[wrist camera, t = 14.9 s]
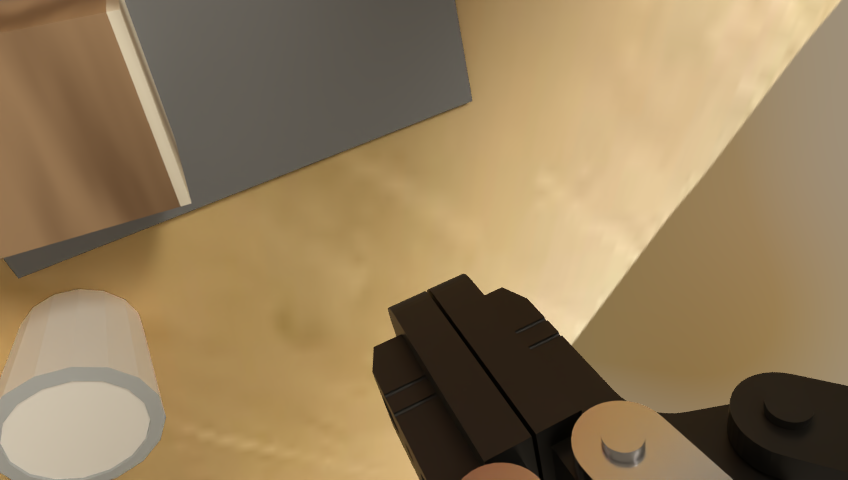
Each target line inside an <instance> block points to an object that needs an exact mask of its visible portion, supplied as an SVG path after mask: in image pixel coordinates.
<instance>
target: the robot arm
mask: <svg viewBox="0 0 848 480" xmlns="http://www.w3.org/2000/svg"><path fill="white" fill-rule="evenodd" d="M388 312H389V315H390V318H391V321H392V324H393V327H394V330H395V333H396V336H397V337H395V338H392V339H390V340H388V341H386V342H384V343H382V344H380V345H377V346H375V347H374V353H373V375H374V377H375V380H376V382H377V385H378V388H379V390H380V393H381V395H382V398H383V400H384V403H385V406H386V408H387V411H388V413H389V416H390V419H391V421H392V424H393V426H394V428H395V430H396V433H397V435H398V437H399V439H400V441H401V443H402V445H403V447H404V449H405V451H406V453H407V455H408V457H409V459H410V461H411V463H412V465H413V467H414V469H415V471H416V473H417V475H418V477H419V480H848V386H845V385H841V384H836V383H831V382H826V381H821V380H817V379H812V378H807V377H802V376H798V375H793V374H787V373H777V372H776V373H775V372H774V373H773V372H771V373H762V374H757V375H754V376H751V377H749V378H747V379H745V380H744V381H742V382H741V383H740V384H739V385H738V386H737V387H736V388H735V389H734V391H733V393H732V396H731V398H730V404H728V405H723V406H717V407H712V408H707V409H701V410H695V411H690V412H684V413H675V414H674V413H658V412H655V411H654V410H652V409H650V408H648V407H646V406H644V405H641V404H638V403H634V402H630V401H626V400H624V399H623V398H621V397H620V396H619V395H618V394H617V393H616V392H615V391H614V390H613V389H612V388H611V387H610V386H609V385H608V384H607V383H606V382H605V381H604V380H603V379H602V378H601V377H600V376H599V374H598V373H597V372H596V371H595V370H594V369H593V368H592V367H591V366H590V365H589V364H588V363H587V362H586V361H585V360H584V359H583V358H582V356H581V355H580V354H579V353H578V352H577V351H576V350H575V349H574V348H573V347H572V346H571V345H570V344H569V343H568V341H567V340H566V339H565V338H564V337H563V336H560V335H559V332H558V331H557V330H556V329H555V328H554V327H553V326H552V325H551V323H550V322H549V321H546V320H545V318H544V316H543V315H542V314H541V313H540V312H539V311H538V310H537V309H536V308H535V306H534V305H533V304H532V303H531V302H530V301H529V300H528V299H527V298H525V297H522V296H520V295H518V294H516V293H514V292H511V291H509V290H507V289H505V288H500V289H497V290H495V291H493V292H491V293H489V294H487V295H484V294H483V293H482V292H481V291H480V290H479V288H478V287H477V286H476V285H475V284H474V283H473V281H472V280H471V279H470V278H469V277H468V276H467V275H466V274H462V275H459V276H457V277H455V278H453V279H450V280H448V281H446V282H444V283H442V284H439V285H437V286H435V287H433V288H431V289H428V290H427V292H426V291H424V292H422V293H420V294H418V295H416V296H413V297H411V298H409V299H407V300H405V301H402V302H400V303H398V304H396V305H394V306H391V307H389V308H388Z"/></svg>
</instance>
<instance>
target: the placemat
mask: <svg viewBox="0 0 848 480" xmlns="http://www.w3.org/2000/svg"><path fill="white" fill-rule="evenodd" d="M125 3H126V6H127V9H128V11H129V14H130V17H131V20H132V22H133V25H134V28H135V31H136V33H137V36H138V39H139V42H140V44H141V47H142V50H143V53H144V55H145V58H146V61H147V64H148V66H149V69H150V72H151V75H152V77H153V80H154V83H155V86H156V88H157V91H158V94H159V97H160V99H161V102H162V105H163V108H164V110H165V113H166V116H167V119H168V121H169V124H170V127H171V130H172V132H173V135H174V138H175V141H176V145H177V149H178V153H179V156H180V160H181V164H182V168H183V172H184V176H185V180H186V183H187V187H188V191H189V195H190V199H191V204H188V205H184V206H181V207H177V208H174V209H171V210H167V211H164V212H160V213H157V214H153V215H150V216H146V217H143V218H140V219H136V220H133V221H129V222H126V223H122V224H119V225H115V226H112V227H109V228H105V229H102V230H98V231H95V232H91V233H88V234H84V235H81V236H78V237H74V238H71V239H67V240H64V241H60V242H57V243H53V244H50V245H47V246H43V247H40V248H36V249H33V250H29V251H26V252H22V253H19V254H16V255H12V256H9V257H5V258H3V259H4V260H5V262H6V263H7V264H8V266H9V267H10V268H11V269H12V271H13V272H14V273H15V275H16V276H17V277H18V278H21V277H23V276H26V275H28V274H31V273H34V272H36V271H39V270H41V269H44V268H46V267H49V266H51V265H54V264H57V263H59V262H62V261H64V260H67V259H69V258H72V257H74V256H77V255H80V254H82V253H85V252H87V251H90V250H92V249H95V248H97V247H100V246H103V245H105V244H108V243H110V242H113V241H115V240H118V239H121V238H123V237H126V236H128V235H131V234H133V233H136V232H138V231H141V230H144V229H146V228H149V227H151V226H154V225H156V224H159V223H161V222H164V221H167V220H169V219H172V218H174V217H177V216H179V215H182V214H184V213H187V212H190V211H192V210H195V209H197V208H200V207H202V206H205V205H207V204H210V203H213V202H215V201H218V200H220V199H223V198H225V197H228V196H230V195H233V194H236V193H238V192H241V191H243V190H246V189H248V188H251V187H253V186H256V185H259V184H261V183H264V182H266V181H269V180H271V179H274V178H276V177H279V176H282V175H284V174H287V173H289V172H292V171H294V170H297V169H299V168H302V167H305V166H307V165H310V164H312V163H315V162H317V161H320V160H322V159H325V158H328V157H330V156H333V155H335V154H338V153H340V152H343V151H345V150H348V149H351V148H353V147H356V146H358V145H361V144H363V143H366V142H368V141H371V140H374V139H376V138H379V137H381V136H384V135H386V134H389V133H391V132H394V131H397V130H399V129H402V128H404V127H407V126H409V125H412V124H414V123H417V122H420V121H422V120H425V119H427V118H430V117H432V116H435V115H437V114H440V113H443V112H445V111H448V110H450V109H453V108H455V107H458V106H460V105H463V104H466V103H468V102H471V101H472V96H471V90H470V84H469V79H468V73H467V67H466V61H465V56H464V50H463V44H462V38H461V32H460V27H459V21H458V15H457V9H456V4H455V0H125Z"/></svg>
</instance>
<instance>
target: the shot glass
mask: <svg viewBox="0 0 848 480" xmlns="http://www.w3.org/2000/svg"><path fill="white" fill-rule="evenodd" d="M165 419H166V415H165V411H164V407H163V403H162V399H161V395H160V391H159V387H158V383H157V380H156V376H155V372H154V368H153V364H152V360H151V356H150V352H149V348H148V344H147V340H146V336H145V332H144V329H143V325H142V322H141V319H140V316H139V313H138V312H137V311H136V310H135V309H134V308H133V307H132V306H131V305H130V304H129V303H128V302H127V301H126V300H125V299H123V298H120V297H118V296H115V295H113V294H110V293H108V292H105V291H100V290H86V289H77V290H72V291H68V292H63V293H59V294H54V295H53V296H51V297H49V298H48V299H46V300H44V301H42V302H41V303H39V304H37V305H36V306H34V307H33V308H32V310H31V311H30V312H29V314H28V315H27V316H26V318H25V319H24V320H23V322H22V323H21V325H20V328H19V330H18V333H17V335H16V338H15V341H14V343H13V346H12V349H11V351H10V354H9V356H8V359H7V362H6V364H5V367H4V369H3V372H2V375H1V377H0V473H2V474H3V475H5V476H6V477H8V478H10V479H11V480H111V479H114V478H117V477H119V476H120V475H122V474H123V473H125V472H127V471H128V470H130V469H131V468H133V467H134V466H136V465H137V464H139V463H141V462H142V461H144V459H145V458H146V457H147V456H148V454H149V453H150V452H151V451H152V449H153V448H154V447H155V446H156V444H157V443H158V442H159V441H160V439H161V435H162V431H163V427H164V423H165Z"/></svg>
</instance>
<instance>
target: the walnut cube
mask: <svg viewBox="0 0 848 480" xmlns="http://www.w3.org/2000/svg"><path fill="white" fill-rule="evenodd" d="M188 204H191V199H190V195H189V191H188V187H187V183H186V180H185V176H184V172H183V168H182V164H181V160H180V156H179V153H178V149H177V145H176V141H175V138H174V135H173V132H172V130H171V127H170V124H169V121H168V119H167V116H166V113H165V110H164V108H163V105H162V102H161V99H160V97H159V94H158V91H157V88H156V86H155V83H154V80H153V77H152V75H151V72H150V69H149V66H148V64H147V61H146V58H145V55H144V53H143V50H142V47H141V44H140V42H139V39H138V36H137V33H136V31H135V28H134V25H133V22H132V20H131V17H130V14H129V11H128V9H127V6H126V3H125V0H0V259H2V258H5V257H9V256H12V255H16V254H19V253H22V252H26V251H29V250H33V249H36V248H40V247H43V246H47V245H50V244H53V243H57V242H60V241H64V240H67V239H71V238H74V237H78V236H81V235H84V234H88V233H91V232H95V231H98V230H102V229H105V228H109V227H112V226H115V225H119V224H122V223H126V222H129V221H133V220H136V219H140V218H143V217H146V216H150V215H153V214H157V213H160V212H164V211H167V210H171V209H174V208H177V207H181V206H184V205H188Z"/></svg>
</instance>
